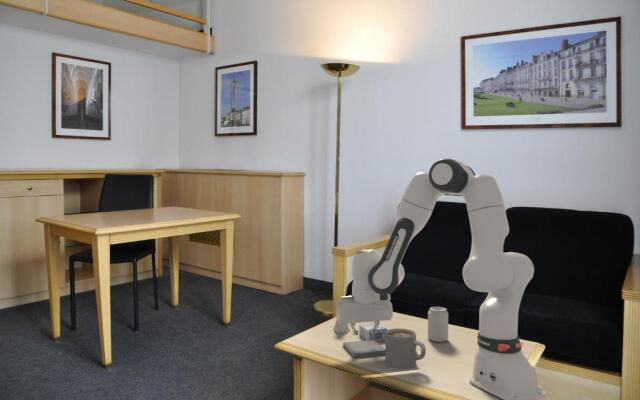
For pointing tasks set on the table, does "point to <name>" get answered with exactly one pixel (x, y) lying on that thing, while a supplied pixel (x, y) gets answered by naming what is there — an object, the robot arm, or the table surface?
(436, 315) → the can
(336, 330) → the flask
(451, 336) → the table surface
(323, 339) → the table surface
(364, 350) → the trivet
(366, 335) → the medicine box
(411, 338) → the coffee mug
